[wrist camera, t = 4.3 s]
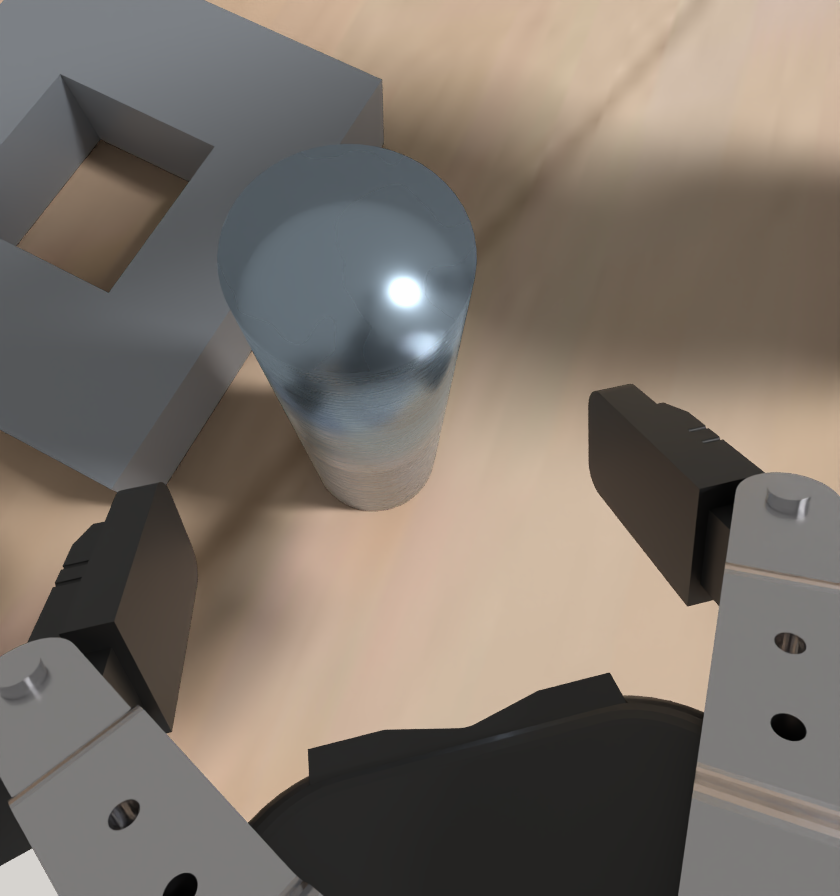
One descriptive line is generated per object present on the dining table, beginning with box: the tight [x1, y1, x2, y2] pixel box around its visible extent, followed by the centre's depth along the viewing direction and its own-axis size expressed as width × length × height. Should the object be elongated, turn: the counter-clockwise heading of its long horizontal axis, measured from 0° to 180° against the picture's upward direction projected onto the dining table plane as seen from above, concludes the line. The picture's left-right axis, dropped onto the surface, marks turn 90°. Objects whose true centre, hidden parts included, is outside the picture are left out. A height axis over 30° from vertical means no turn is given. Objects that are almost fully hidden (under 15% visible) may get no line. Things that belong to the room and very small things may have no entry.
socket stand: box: [0, 0, 384, 492], centre depth 22 cm, size 16×13×3 cm
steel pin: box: [217, 144, 477, 511], centre depth 16 cm, size 4×4×12 cm
